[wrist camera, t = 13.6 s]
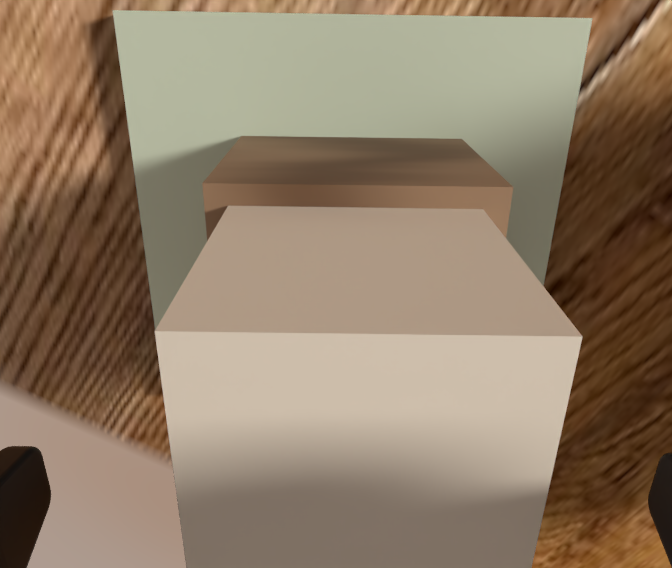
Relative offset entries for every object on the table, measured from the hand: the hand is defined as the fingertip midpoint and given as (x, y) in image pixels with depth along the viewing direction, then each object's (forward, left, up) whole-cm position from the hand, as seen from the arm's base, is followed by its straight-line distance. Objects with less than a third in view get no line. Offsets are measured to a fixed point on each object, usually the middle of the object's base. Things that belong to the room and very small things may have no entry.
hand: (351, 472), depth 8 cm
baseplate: (0, 0, -10) cm, 10 cm away
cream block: (0, 0, -4) cm, 4 cm away
